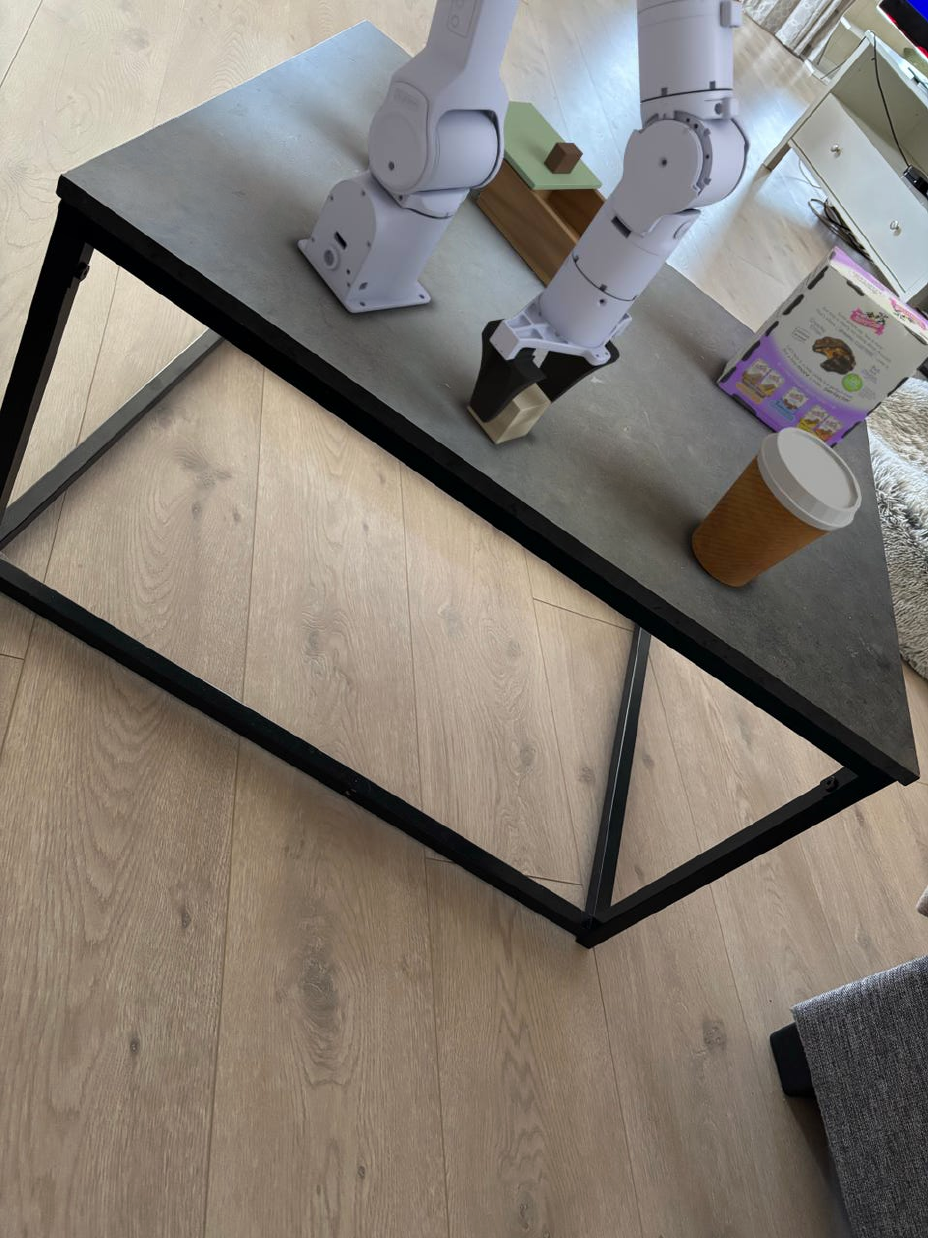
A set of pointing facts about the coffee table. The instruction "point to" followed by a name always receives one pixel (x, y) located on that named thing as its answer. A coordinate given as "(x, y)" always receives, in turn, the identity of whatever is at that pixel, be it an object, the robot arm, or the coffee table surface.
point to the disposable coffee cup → (776, 507)
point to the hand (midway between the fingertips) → (509, 405)
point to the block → (516, 415)
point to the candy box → (828, 353)
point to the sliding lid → (543, 152)
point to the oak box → (538, 218)
